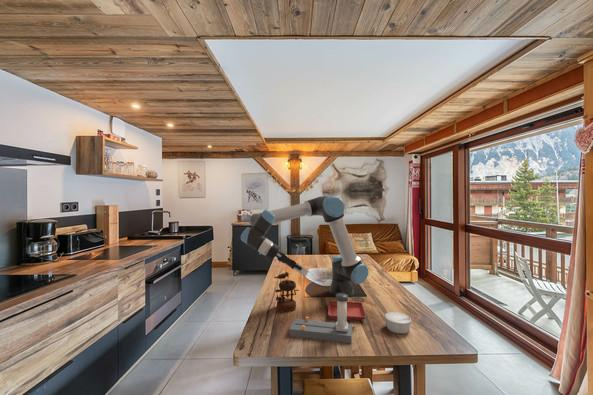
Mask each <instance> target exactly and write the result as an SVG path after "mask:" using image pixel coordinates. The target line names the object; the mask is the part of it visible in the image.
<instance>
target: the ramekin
mask: <svg viewBox="0 0 593 395" xmlns="http://www.w3.org/2000/svg"><path fill="white" fill-rule="evenodd" d="M384 320H385V324H386V328H387V329H388V330H389V332H392V333H396V334H398V335H399V334H401V335H402V334H408V333H409V332H410V328H411V323H412V318H411V317H410V316H409V315H407V314H404V313H403V312H402V313H401V312H397V311H395V312H394V311H391V312H387V313H385V314H384Z"/></svg>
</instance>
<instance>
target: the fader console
mask: <svg viewBox="0 0 593 395" xmlns="http://www.w3.org/2000/svg"><path fill="white" fill-rule="evenodd" d="M336 323H337V322H330V321H329V322H328V321H322V320H321V321H320V320H310V319H309V316H306V317H305V319H301V318H300V319H299V318H294V319H293V322H292V324H291V326H290V327H289V336H290V337H295V338H303V339H311V340H312V339H313V340H320V341H327V342H328V341H329V342H337V343H344V344H352V338H353V335H352V334H353V327H352V326H353V325H352V324H350V323H348V332H344V331H336Z"/></svg>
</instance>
